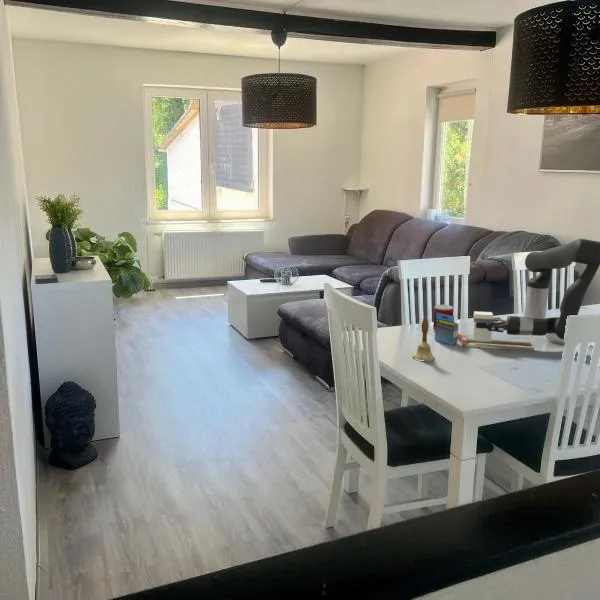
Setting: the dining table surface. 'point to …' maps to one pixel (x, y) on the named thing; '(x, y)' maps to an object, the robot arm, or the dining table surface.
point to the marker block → (482, 333)
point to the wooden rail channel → (464, 344)
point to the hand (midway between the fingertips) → (475, 323)
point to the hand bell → (424, 345)
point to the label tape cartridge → (446, 329)
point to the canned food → (442, 312)
